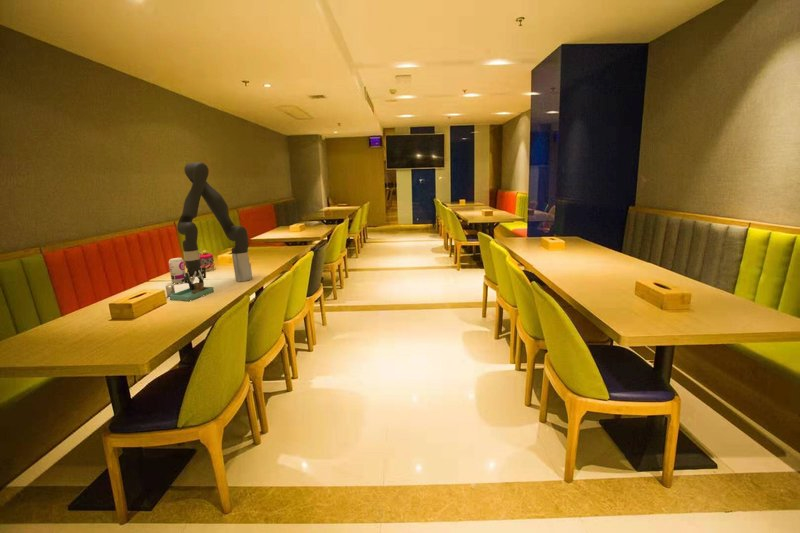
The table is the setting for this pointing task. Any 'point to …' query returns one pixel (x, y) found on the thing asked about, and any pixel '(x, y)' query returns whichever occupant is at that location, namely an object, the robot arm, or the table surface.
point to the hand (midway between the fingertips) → (197, 288)
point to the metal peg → (170, 290)
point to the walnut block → (197, 288)
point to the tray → (190, 294)
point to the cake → (206, 260)
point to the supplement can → (177, 270)
